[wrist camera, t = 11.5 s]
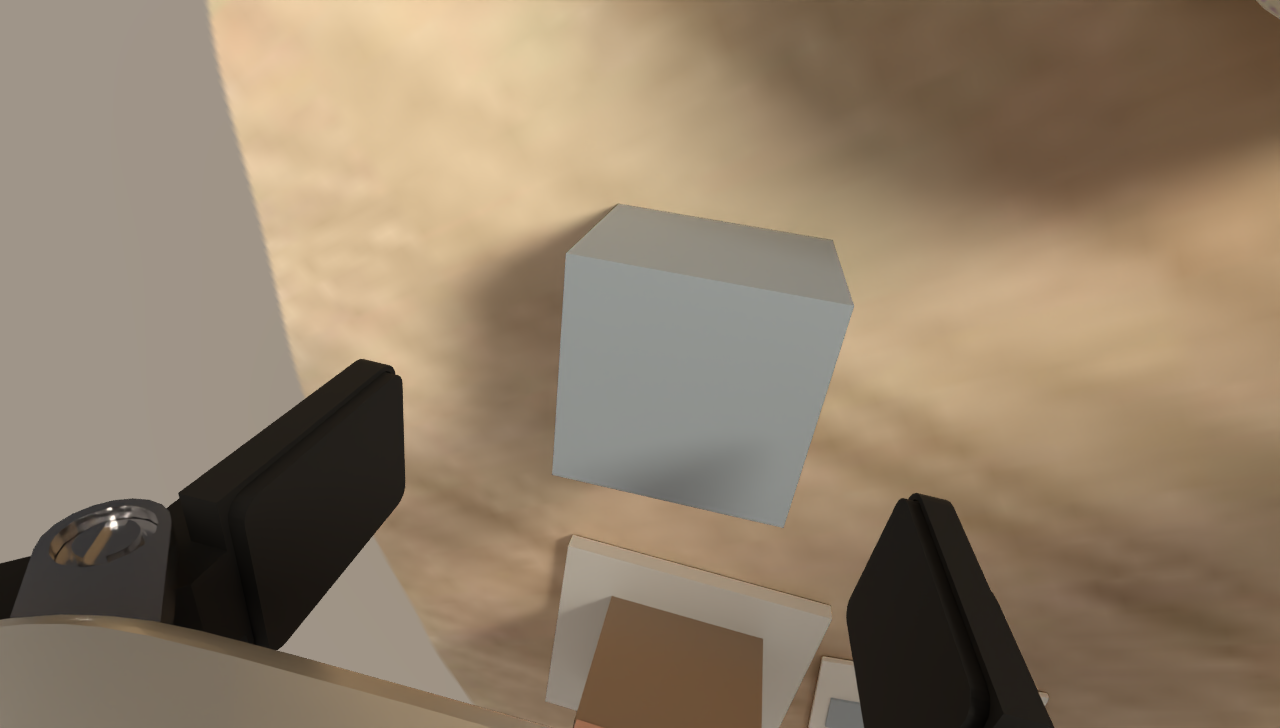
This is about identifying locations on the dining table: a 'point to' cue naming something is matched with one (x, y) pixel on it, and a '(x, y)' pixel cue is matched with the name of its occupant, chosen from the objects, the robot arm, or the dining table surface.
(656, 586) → the tower base
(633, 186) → the dining table surface
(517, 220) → the dining table surface
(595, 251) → the slate brick
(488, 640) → the dining table surface
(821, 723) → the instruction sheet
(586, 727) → the terracotta brick
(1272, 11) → the paper bowls
